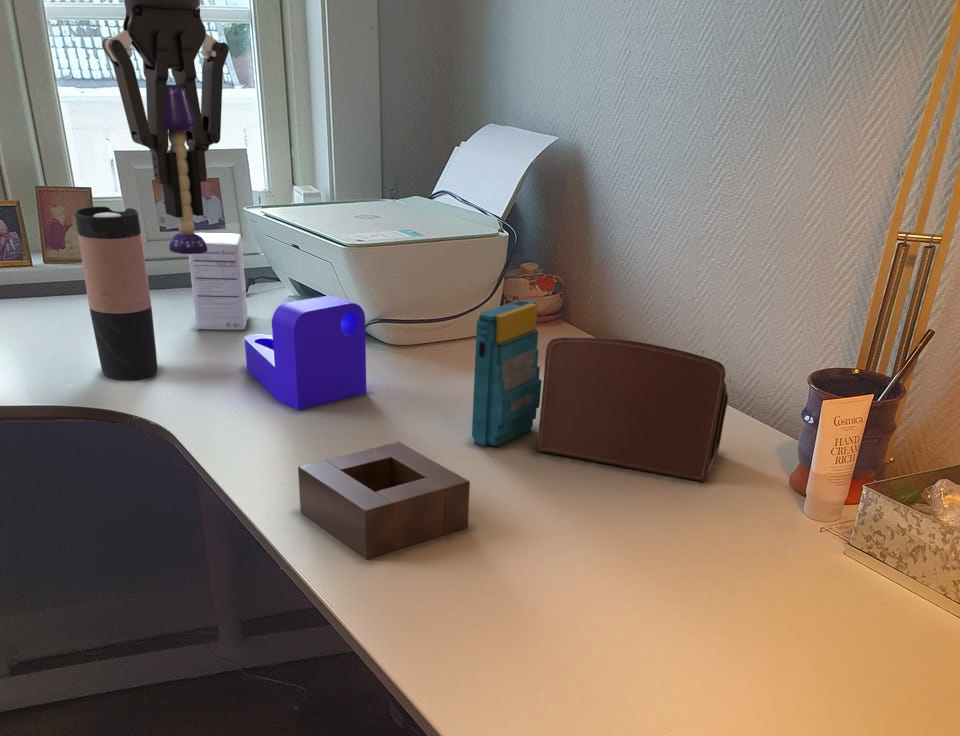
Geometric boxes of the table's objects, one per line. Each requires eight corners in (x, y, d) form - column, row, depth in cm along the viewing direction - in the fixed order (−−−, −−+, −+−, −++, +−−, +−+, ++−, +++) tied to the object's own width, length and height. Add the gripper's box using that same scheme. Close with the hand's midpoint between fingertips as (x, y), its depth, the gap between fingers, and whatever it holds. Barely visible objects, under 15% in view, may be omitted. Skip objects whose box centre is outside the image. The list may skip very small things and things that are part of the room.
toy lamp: (191, 256, 111) (178, 87, 102) (155, 251, 112) (140, 83, 103) (214, 250, 115) (204, 86, 106) (180, 244, 116) (167, 82, 107)
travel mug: (115, 384, 128) (89, 219, 117) (90, 368, 133) (63, 209, 122) (170, 374, 132) (149, 214, 122) (144, 359, 137) (122, 204, 126)
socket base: (366, 559, 91) (365, 510, 89) (300, 512, 99) (297, 466, 96) (468, 527, 98) (470, 481, 95) (398, 485, 106) (398, 441, 103)
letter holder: (705, 483, 110) (728, 357, 102) (535, 453, 115) (545, 331, 107) (719, 452, 118) (741, 333, 110) (559, 425, 123) (570, 309, 115)
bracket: (366, 392, 130) (364, 300, 123) (298, 410, 123) (293, 314, 117) (285, 358, 140) (280, 272, 134) (219, 373, 134) (210, 283, 127)
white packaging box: (201, 316, 156) (192, 231, 149) (249, 317, 157) (242, 233, 150) (195, 329, 150) (185, 242, 143) (245, 330, 151) (237, 243, 144)
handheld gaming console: (512, 421, 123) (521, 297, 115) (540, 429, 122) (551, 304, 113) (467, 442, 117) (472, 313, 108) (495, 451, 115) (503, 321, 107)
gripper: (100, -43, 92) (135, 225, 105) (243, -33, 101) (259, 215, 113) (70, -44, 97) (107, 213, 110) (209, -34, 105) (228, 204, 118)
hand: (184, 214), depth 112 cm, fingers closed on toy lamp, 2 cm apart
